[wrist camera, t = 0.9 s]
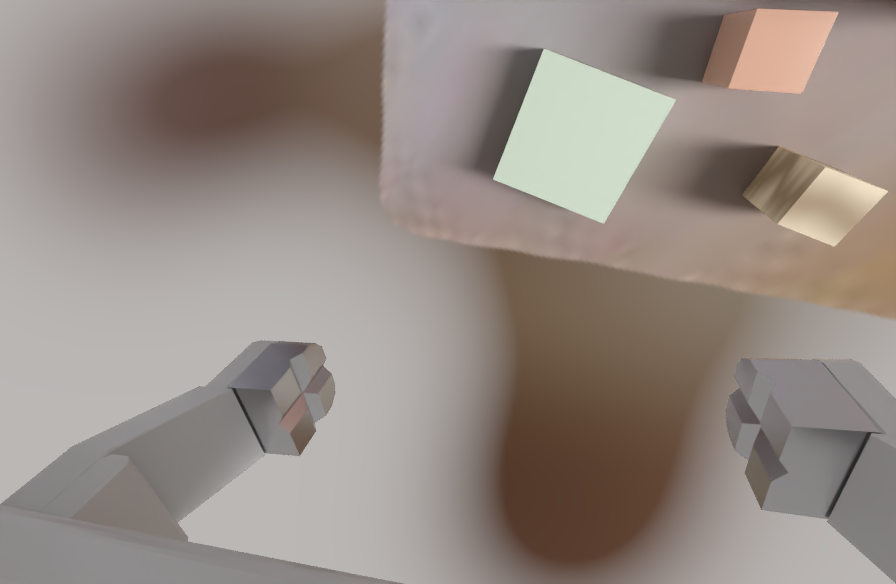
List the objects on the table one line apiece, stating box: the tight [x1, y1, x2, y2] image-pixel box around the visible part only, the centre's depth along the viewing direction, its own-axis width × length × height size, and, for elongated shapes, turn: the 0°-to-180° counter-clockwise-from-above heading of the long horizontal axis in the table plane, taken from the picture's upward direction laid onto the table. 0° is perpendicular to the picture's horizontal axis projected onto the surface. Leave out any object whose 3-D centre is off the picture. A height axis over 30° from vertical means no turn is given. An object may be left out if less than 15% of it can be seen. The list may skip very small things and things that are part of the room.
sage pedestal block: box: [493, 49, 676, 224], centre depth 40 cm, size 12×12×4 cm
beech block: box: [742, 146, 888, 247], centre depth 36 cm, size 5×5×8 cm
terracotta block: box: [702, 9, 839, 94], centre depth 32 cm, size 5×5×7 cm
